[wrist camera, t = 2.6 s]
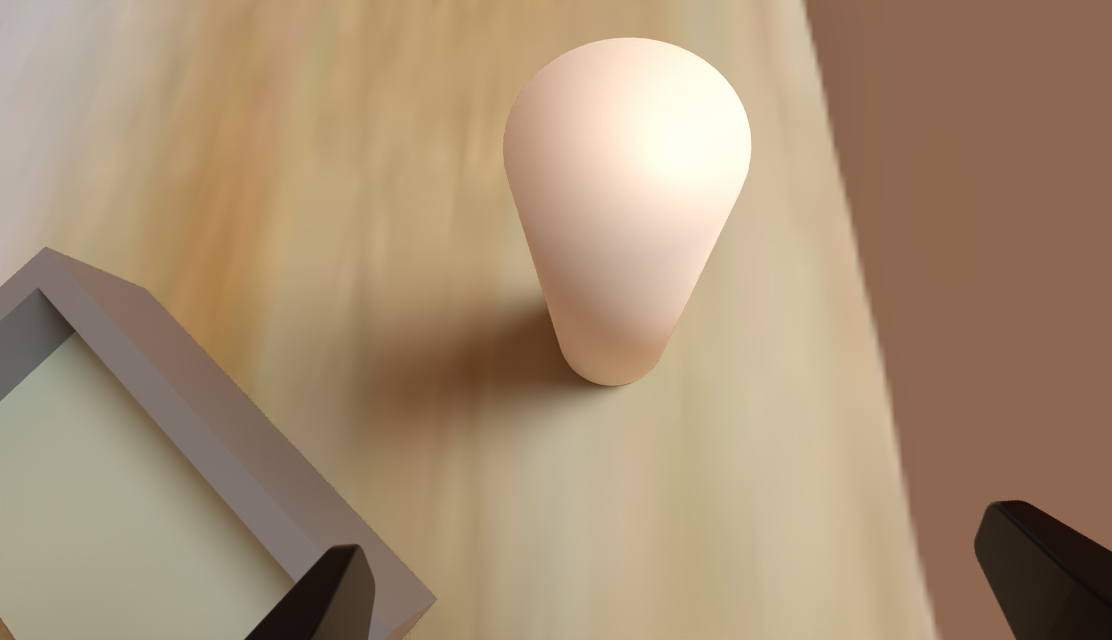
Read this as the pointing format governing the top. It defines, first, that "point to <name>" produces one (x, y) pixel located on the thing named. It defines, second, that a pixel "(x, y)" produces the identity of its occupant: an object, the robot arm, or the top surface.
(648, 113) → the peg
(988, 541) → the robot arm
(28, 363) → the tray
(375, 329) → the top surface
